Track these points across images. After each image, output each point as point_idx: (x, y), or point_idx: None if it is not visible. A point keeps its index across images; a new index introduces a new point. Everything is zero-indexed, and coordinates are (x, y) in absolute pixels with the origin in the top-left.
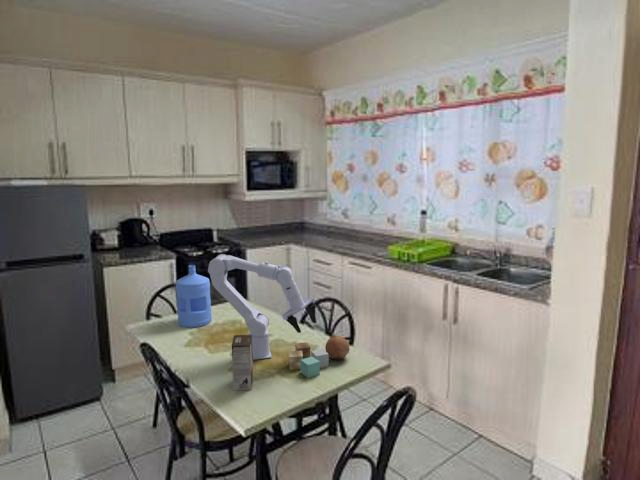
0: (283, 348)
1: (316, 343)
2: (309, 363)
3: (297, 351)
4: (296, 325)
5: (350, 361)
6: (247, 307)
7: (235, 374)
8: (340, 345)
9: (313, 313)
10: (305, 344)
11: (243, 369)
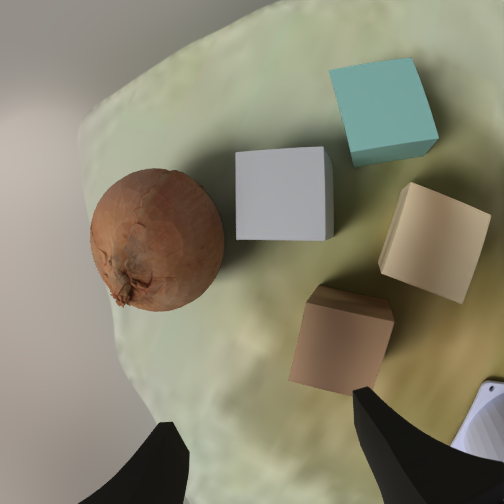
0: None
1: (219, 421)
2: (397, 68)
3: (415, 276)
4: (412, 434)
5: None
6: None
7: None
8: (138, 175)
9: (123, 488)
10: (316, 358)
11: None
